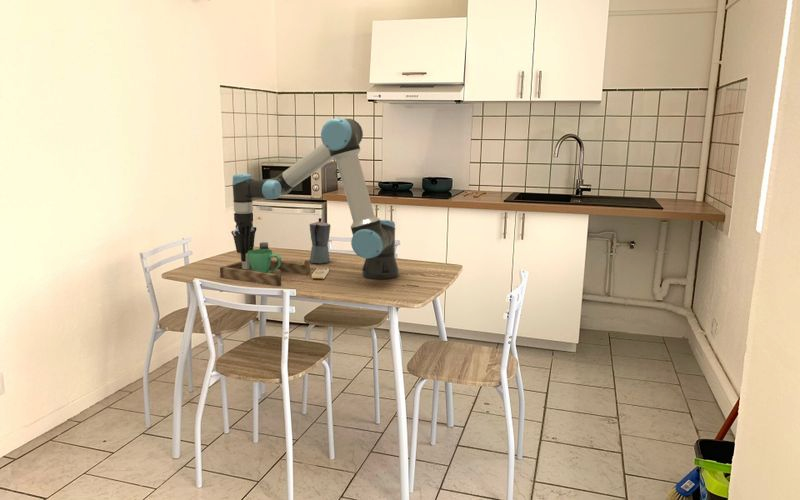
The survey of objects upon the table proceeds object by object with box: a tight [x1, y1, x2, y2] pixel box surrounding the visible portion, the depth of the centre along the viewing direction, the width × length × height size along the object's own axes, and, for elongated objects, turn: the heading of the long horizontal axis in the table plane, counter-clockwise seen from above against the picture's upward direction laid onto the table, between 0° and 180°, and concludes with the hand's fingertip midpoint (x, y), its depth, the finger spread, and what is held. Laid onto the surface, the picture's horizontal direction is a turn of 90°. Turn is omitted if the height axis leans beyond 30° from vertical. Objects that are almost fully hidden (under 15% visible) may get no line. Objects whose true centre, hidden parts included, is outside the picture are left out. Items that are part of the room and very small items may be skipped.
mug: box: [247, 248, 282, 274], centre depth 241 cm, size 15×10×10 cm
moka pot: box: [309, 217, 331, 264], centre depth 265 cm, size 10×15×20 cm, turn 179°
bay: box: [219, 241, 311, 287], centre depth 243 cm, size 29×25×10 cm
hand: (245, 268), depth 246 cm, fingers closed
